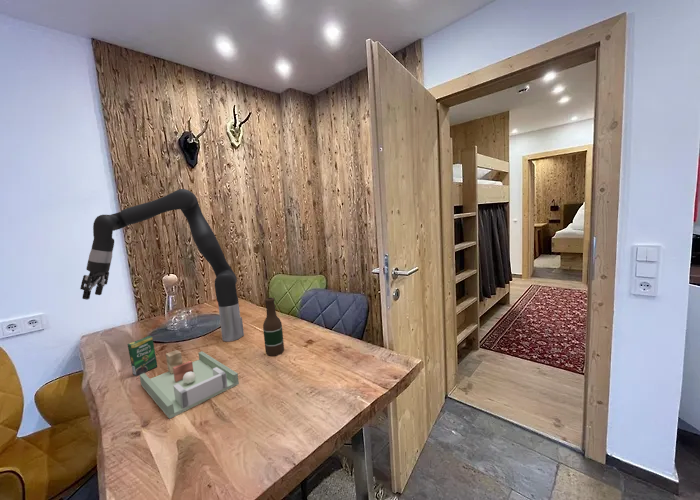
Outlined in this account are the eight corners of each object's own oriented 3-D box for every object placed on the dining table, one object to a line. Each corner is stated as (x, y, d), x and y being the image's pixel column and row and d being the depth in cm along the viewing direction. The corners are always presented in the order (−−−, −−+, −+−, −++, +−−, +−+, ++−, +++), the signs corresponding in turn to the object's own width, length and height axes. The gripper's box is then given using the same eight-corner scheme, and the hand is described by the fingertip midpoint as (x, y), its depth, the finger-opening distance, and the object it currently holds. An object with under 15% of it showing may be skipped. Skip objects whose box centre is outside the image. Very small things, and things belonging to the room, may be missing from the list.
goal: (218, 380, 104) (216, 367, 104) (227, 386, 100) (225, 373, 99) (175, 400, 94) (173, 385, 93) (183, 408, 89) (181, 393, 89)
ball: (193, 378, 107) (192, 368, 106) (198, 382, 104) (196, 371, 103) (181, 383, 104) (180, 373, 103) (186, 387, 101) (184, 376, 100)
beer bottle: (261, 354, 124) (256, 300, 121) (274, 347, 131) (269, 295, 128) (275, 357, 121) (270, 301, 118) (288, 349, 127) (283, 296, 125)
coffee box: (135, 377, 112) (130, 344, 111) (132, 375, 114) (126, 343, 112) (157, 367, 119) (153, 336, 118) (154, 365, 121) (149, 335, 119)
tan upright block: (182, 365, 116) (179, 348, 116) (193, 374, 109) (191, 356, 108) (165, 372, 112) (162, 354, 111) (176, 381, 104) (173, 363, 104)
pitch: (203, 360, 123) (202, 351, 122) (238, 384, 103) (237, 373, 102) (141, 385, 106) (139, 374, 106) (169, 419, 86) (167, 406, 86)
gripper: (100, 263, 119) (91, 302, 119) (118, 260, 133) (111, 294, 133) (78, 260, 117) (70, 299, 118) (99, 256, 131) (92, 291, 131)
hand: (92, 296), depth 125 cm, fingers open, 8 cm apart
